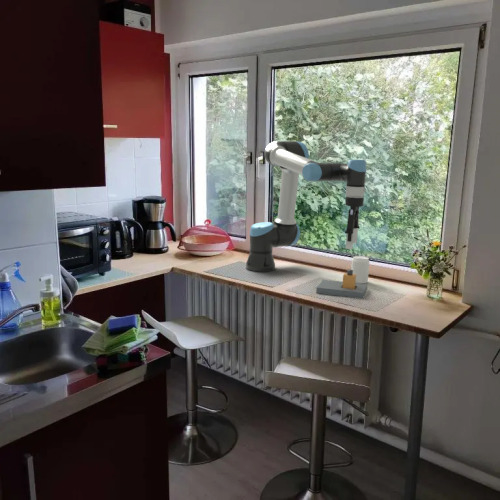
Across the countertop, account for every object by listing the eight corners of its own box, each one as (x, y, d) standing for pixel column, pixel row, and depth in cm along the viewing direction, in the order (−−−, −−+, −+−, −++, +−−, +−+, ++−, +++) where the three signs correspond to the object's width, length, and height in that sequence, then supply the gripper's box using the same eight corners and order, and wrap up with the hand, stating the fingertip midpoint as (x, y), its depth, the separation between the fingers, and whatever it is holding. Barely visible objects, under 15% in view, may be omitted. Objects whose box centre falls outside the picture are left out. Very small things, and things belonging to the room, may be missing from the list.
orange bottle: (342, 292, 218) (343, 270, 216) (343, 290, 222) (345, 268, 220) (353, 294, 217) (355, 271, 215) (355, 291, 220) (356, 269, 218)
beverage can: (355, 284, 231) (356, 259, 229) (347, 280, 239) (348, 255, 237) (370, 284, 234) (372, 259, 231) (362, 279, 241) (364, 255, 239)
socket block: (316, 292, 217) (316, 287, 217) (322, 284, 230) (322, 279, 229) (362, 298, 211) (363, 292, 210) (366, 289, 224) (367, 284, 223)
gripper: (360, 199, 198) (356, 252, 203) (367, 194, 221) (363, 241, 226) (341, 198, 201) (337, 250, 205) (350, 193, 224) (347, 240, 228)
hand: (351, 246), depth 215 cm, fingers open, 13 cm apart
